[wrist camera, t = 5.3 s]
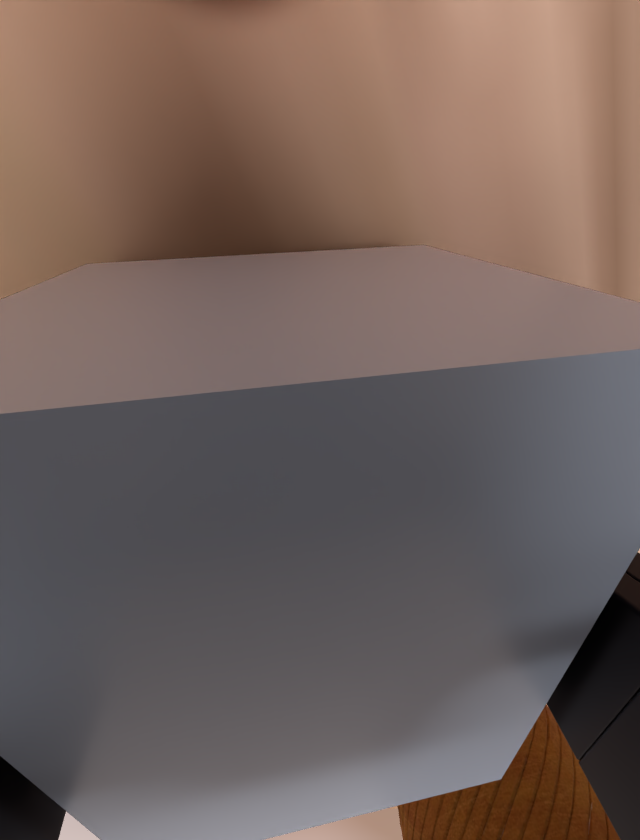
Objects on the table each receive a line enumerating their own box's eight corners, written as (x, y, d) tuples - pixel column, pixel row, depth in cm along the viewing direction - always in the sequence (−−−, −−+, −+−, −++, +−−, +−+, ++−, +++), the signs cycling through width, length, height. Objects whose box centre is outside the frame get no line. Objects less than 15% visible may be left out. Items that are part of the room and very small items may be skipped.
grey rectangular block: (423, 244, 9) (765, 337, 3) (394, 535, 14) (501, 779, 8) (86, 263, 8) (-363, 450, 2) (186, 568, 13) (138, 871, 7)
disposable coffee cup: (315, 623, 19) (395, 1117, 9) (491, 548, 18) (800, 991, 8) (374, 693, 24) (469, 1058, 14) (514, 636, 23) (723, 977, 13)
